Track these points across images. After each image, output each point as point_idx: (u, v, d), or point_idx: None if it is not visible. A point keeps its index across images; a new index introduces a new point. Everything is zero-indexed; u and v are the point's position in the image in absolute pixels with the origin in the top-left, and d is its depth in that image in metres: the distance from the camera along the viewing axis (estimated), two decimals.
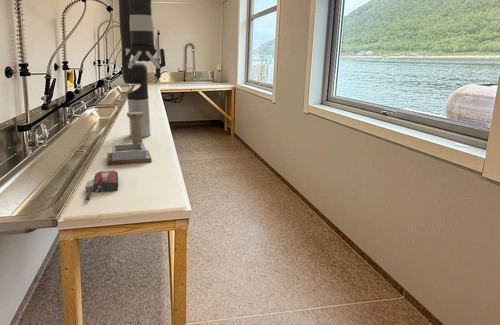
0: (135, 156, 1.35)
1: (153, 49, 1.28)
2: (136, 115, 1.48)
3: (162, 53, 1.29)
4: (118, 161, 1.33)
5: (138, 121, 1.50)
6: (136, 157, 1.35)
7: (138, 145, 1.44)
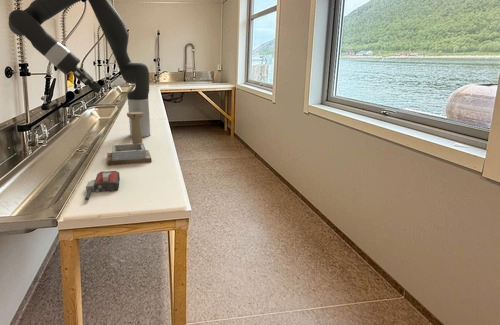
0: (135, 156, 1.35)
1: None
2: (136, 115, 1.48)
3: (76, 77, 1.33)
4: (118, 161, 1.33)
5: (138, 121, 1.50)
6: (136, 157, 1.35)
7: (138, 145, 1.44)
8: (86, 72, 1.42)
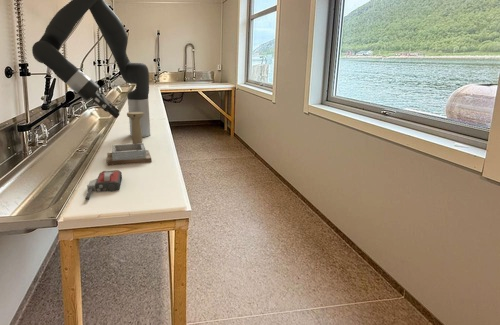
0: (135, 156, 1.35)
1: (94, 99, 1.40)
2: (136, 115, 1.48)
3: (96, 103, 1.38)
4: (118, 161, 1.33)
5: (138, 121, 1.50)
6: (136, 157, 1.35)
7: (138, 145, 1.44)
8: (105, 97, 1.47)
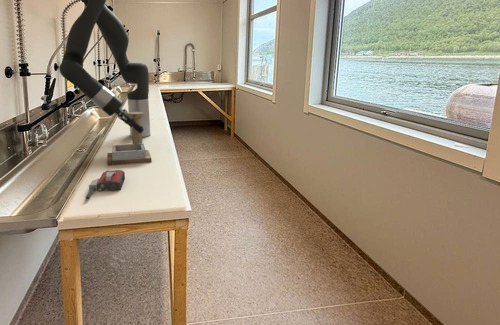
0: (135, 156, 1.35)
1: (118, 115, 1.44)
2: (136, 115, 1.48)
3: (123, 121, 1.44)
4: (118, 161, 1.33)
5: (138, 121, 1.50)
6: (136, 157, 1.35)
7: (138, 145, 1.44)
8: None
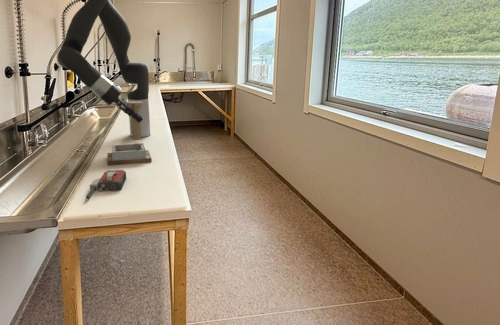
0: (135, 156, 1.35)
1: (117, 104, 1.43)
2: (135, 104, 1.46)
3: (122, 110, 1.42)
4: (118, 161, 1.33)
5: (137, 110, 1.49)
6: (136, 157, 1.35)
7: (138, 145, 1.44)
8: None
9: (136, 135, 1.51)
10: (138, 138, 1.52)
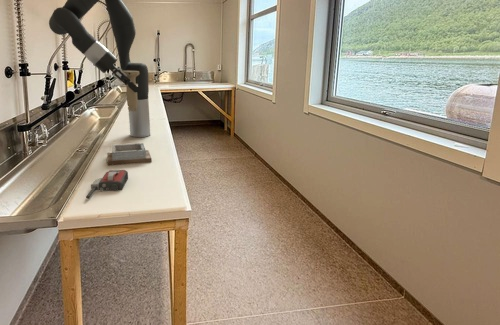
0: (135, 156, 1.35)
1: None
2: (131, 73, 1.41)
3: (117, 77, 1.37)
4: (118, 161, 1.33)
5: (133, 80, 1.43)
6: (136, 157, 1.35)
7: (138, 145, 1.44)
8: None
9: (132, 106, 1.45)
10: (134, 109, 1.46)
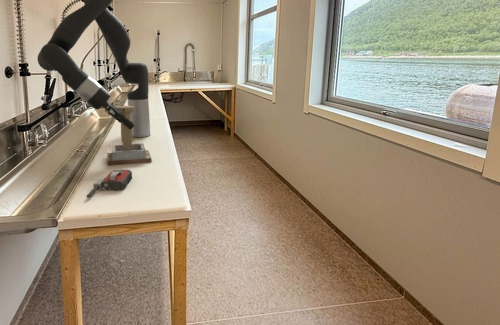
0: (135, 156, 1.35)
1: (105, 109, 1.29)
2: (126, 109, 1.32)
3: (111, 115, 1.28)
4: (118, 161, 1.33)
5: (128, 116, 1.34)
6: (136, 157, 1.35)
7: (138, 145, 1.44)
8: None
9: (127, 143, 1.37)
10: (129, 146, 1.37)
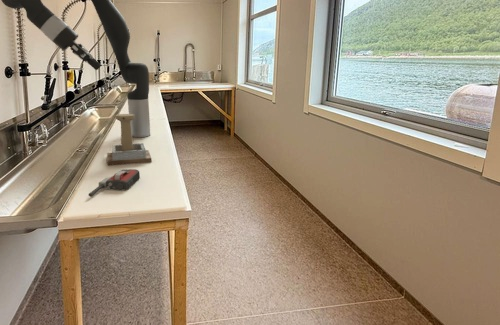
0: (135, 156, 1.35)
1: None
2: (126, 117, 1.33)
3: (74, 51, 1.25)
4: (118, 161, 1.33)
5: (128, 124, 1.35)
6: (136, 157, 1.35)
7: (138, 145, 1.44)
8: None
9: None
10: None
